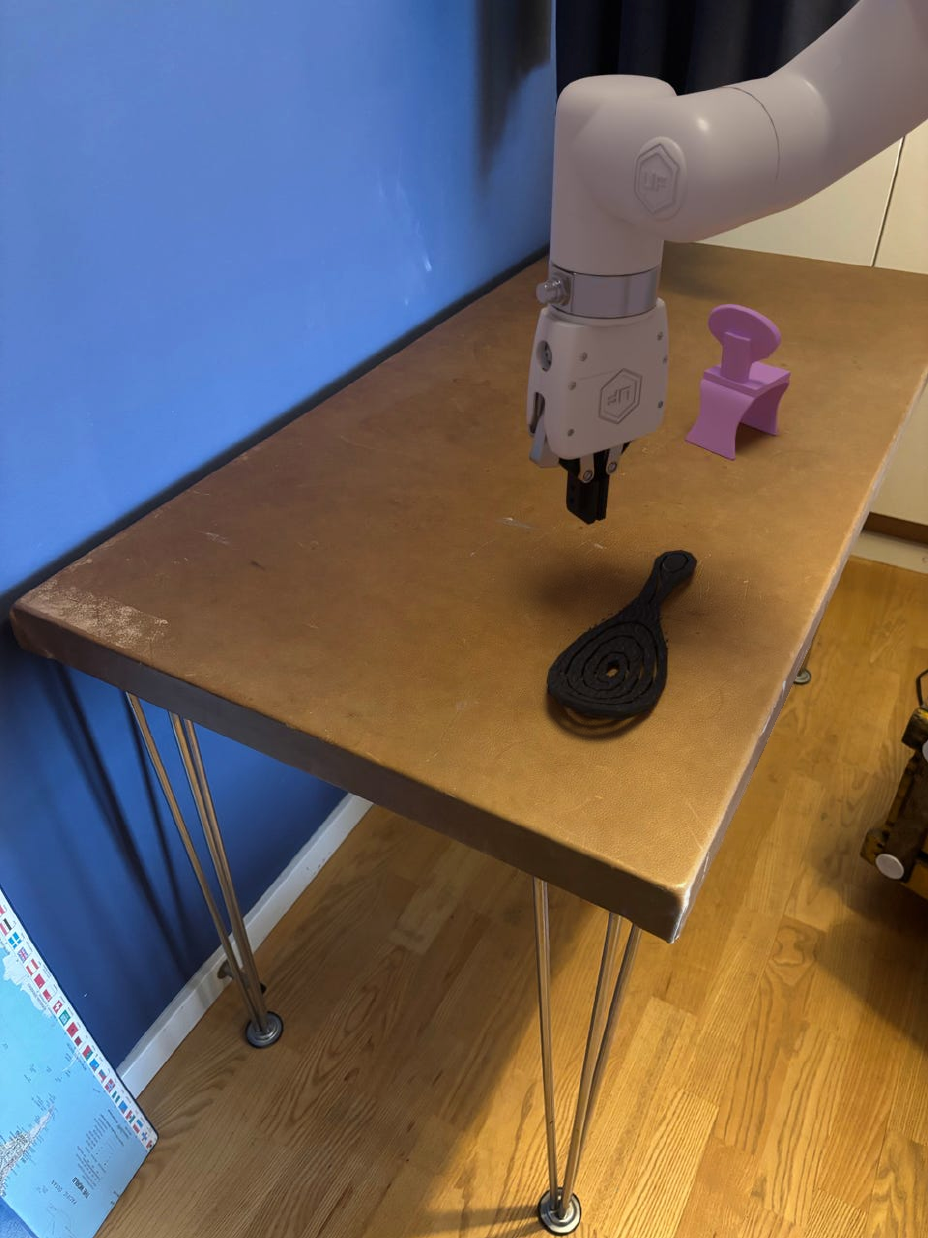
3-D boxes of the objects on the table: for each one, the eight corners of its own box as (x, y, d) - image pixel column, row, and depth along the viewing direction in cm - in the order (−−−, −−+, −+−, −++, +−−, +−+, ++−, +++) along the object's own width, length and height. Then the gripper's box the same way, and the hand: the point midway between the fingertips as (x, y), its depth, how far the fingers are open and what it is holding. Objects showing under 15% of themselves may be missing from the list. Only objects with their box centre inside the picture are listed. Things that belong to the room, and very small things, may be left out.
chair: (787, 436, 100) (820, 300, 90) (741, 463, 95) (770, 323, 86) (724, 411, 105) (749, 279, 95) (676, 436, 100) (697, 300, 91)
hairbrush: (735, 544, 79) (635, 714, 61) (728, 579, 81) (628, 753, 63) (644, 519, 82) (523, 675, 64) (639, 554, 84) (521, 714, 66)
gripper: (545, 325, 57) (536, 565, 68) (722, 280, 63) (687, 508, 74) (481, 291, 62) (483, 520, 73) (651, 253, 68) (628, 470, 79)
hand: (585, 514), depth 74 cm, fingers closed
